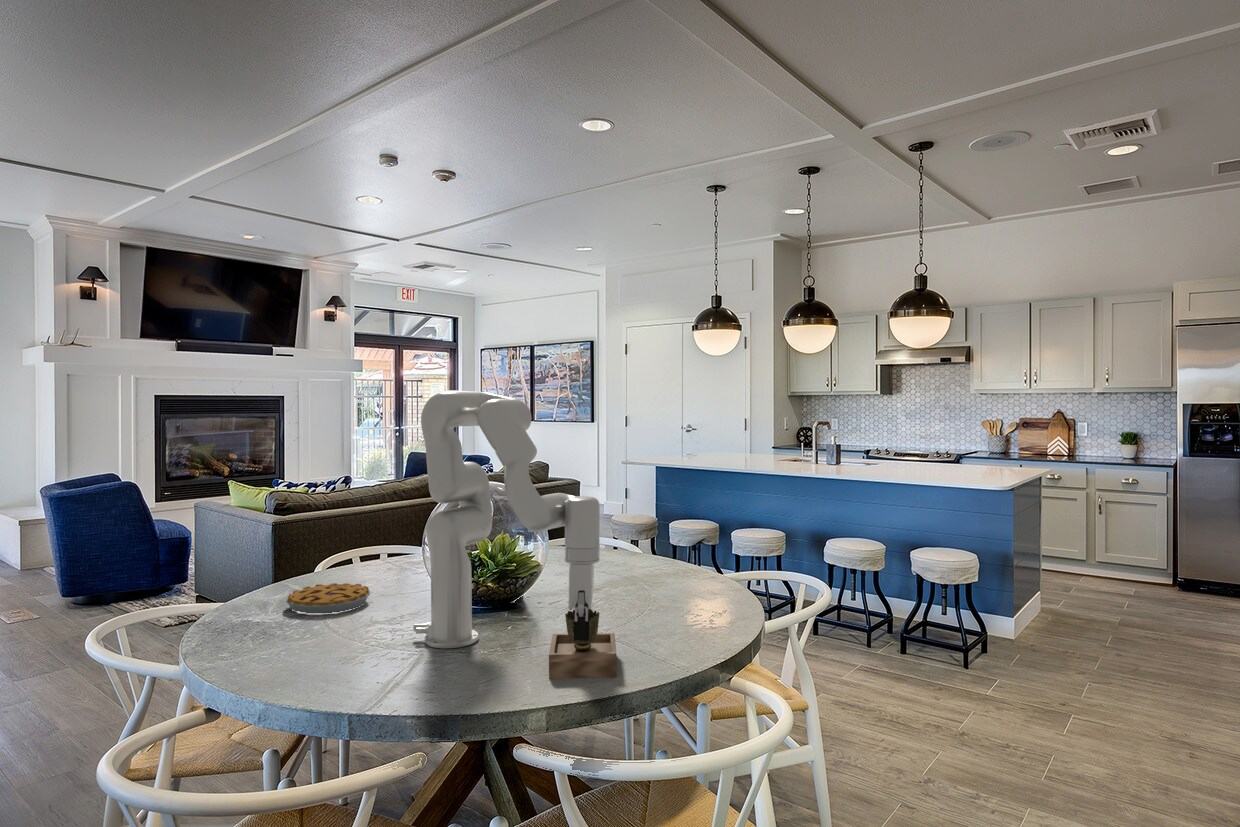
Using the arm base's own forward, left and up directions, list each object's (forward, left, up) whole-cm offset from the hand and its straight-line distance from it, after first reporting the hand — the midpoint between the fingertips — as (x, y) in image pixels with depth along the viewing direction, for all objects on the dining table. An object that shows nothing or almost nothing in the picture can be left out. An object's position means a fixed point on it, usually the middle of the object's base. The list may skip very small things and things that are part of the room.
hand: (582, 632), depth 159 cm
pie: (-73, +50, -8) cm, 89 cm away
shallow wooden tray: (0, 0, -8) cm, 8 cm away
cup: (0, 0, -4) cm, 4 cm away
